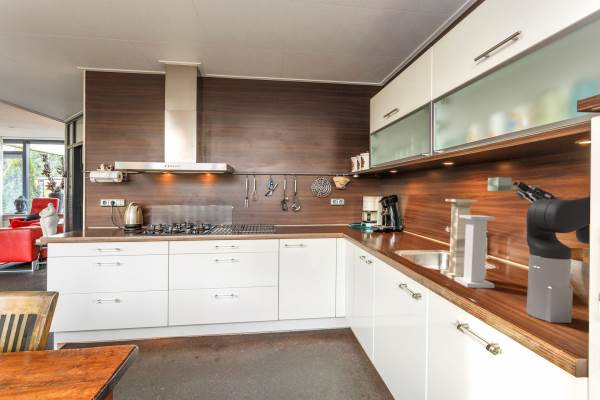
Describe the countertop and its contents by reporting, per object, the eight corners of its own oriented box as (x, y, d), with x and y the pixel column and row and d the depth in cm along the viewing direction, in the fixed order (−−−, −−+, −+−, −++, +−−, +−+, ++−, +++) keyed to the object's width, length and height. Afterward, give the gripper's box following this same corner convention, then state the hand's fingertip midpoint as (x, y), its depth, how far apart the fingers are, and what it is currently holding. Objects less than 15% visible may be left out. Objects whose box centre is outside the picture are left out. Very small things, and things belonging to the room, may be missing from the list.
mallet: (545, 192, 115) (545, 178, 115) (497, 190, 114) (498, 177, 114) (532, 192, 121) (533, 179, 121) (487, 191, 120) (488, 178, 120)
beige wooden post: (476, 279, 125) (479, 200, 124) (451, 279, 124) (455, 199, 123) (463, 273, 134) (466, 199, 133) (440, 273, 133) (443, 198, 132)
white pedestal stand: (494, 288, 114) (497, 217, 113) (467, 287, 113) (470, 216, 113) (479, 281, 123) (482, 215, 122) (454, 280, 122) (457, 214, 122)
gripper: (563, 217, 111) (524, 192, 111) (533, 214, 125) (498, 192, 124) (574, 199, 111) (535, 174, 111) (543, 198, 125) (507, 176, 124)
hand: (515, 183), depth 118 cm, fingers closed on mallet, 2 cm apart
